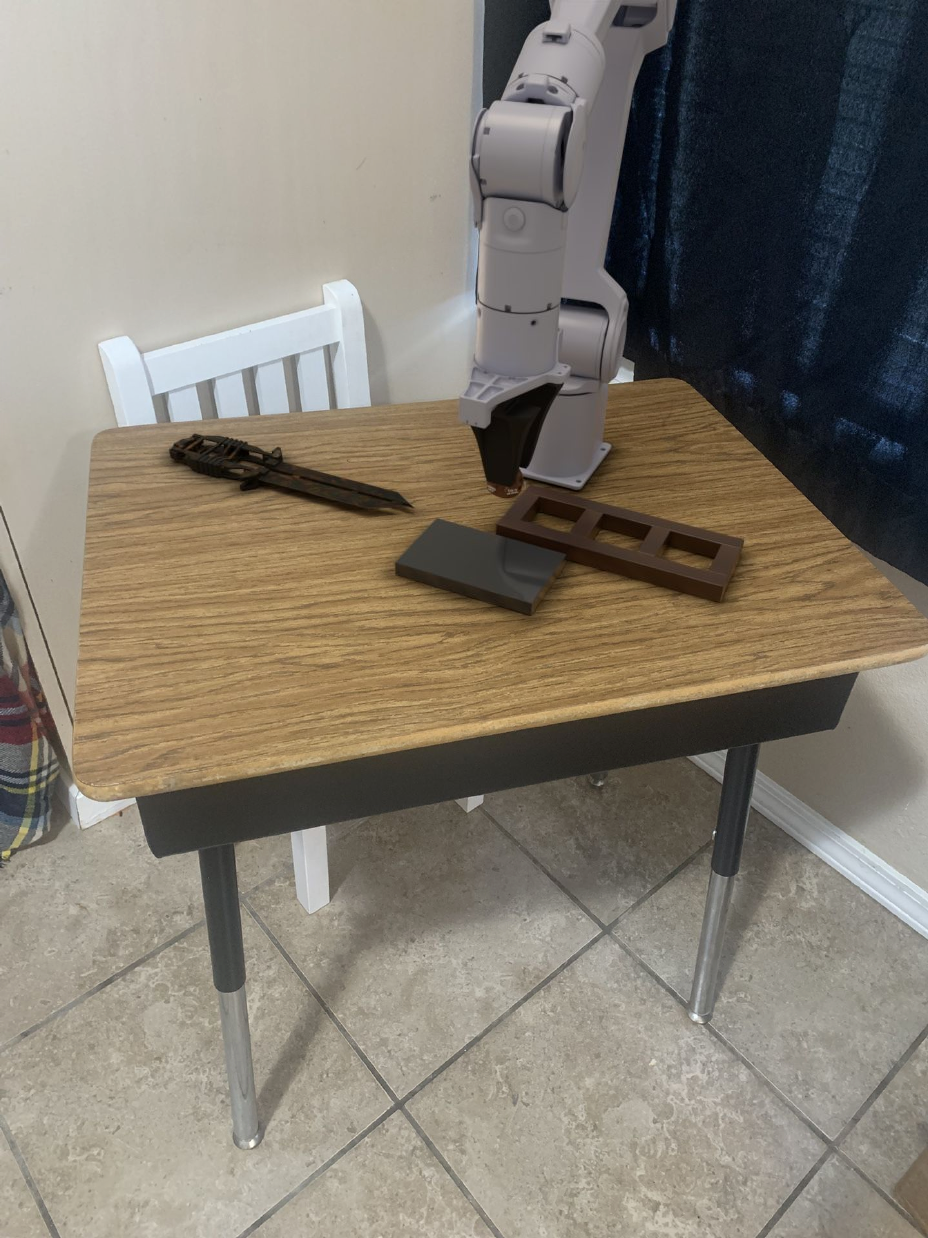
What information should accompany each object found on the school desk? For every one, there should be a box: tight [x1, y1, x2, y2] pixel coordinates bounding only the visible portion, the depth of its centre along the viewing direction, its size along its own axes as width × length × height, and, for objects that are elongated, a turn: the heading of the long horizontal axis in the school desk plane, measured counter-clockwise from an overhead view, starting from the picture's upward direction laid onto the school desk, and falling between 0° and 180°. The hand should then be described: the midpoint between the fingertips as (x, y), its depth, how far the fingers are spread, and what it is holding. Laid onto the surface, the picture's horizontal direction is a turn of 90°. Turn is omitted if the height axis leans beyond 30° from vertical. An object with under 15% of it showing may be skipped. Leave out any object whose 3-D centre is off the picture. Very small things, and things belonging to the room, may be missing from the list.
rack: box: [495, 484, 745, 603], centre depth 83 cm, size 8×20×2 cm, turn 65°
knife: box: [168, 433, 415, 510], centre depth 90 cm, size 25×6×1 cm, turn 60°
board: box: [394, 517, 567, 616], centre depth 80 cm, size 8×12×1 cm, turn 65°
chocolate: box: [486, 468, 527, 499], centre depth 75 cm, size 3×2×4 cm
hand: (507, 473), depth 75 cm, fingers closed on chocolate, 2 cm apart
